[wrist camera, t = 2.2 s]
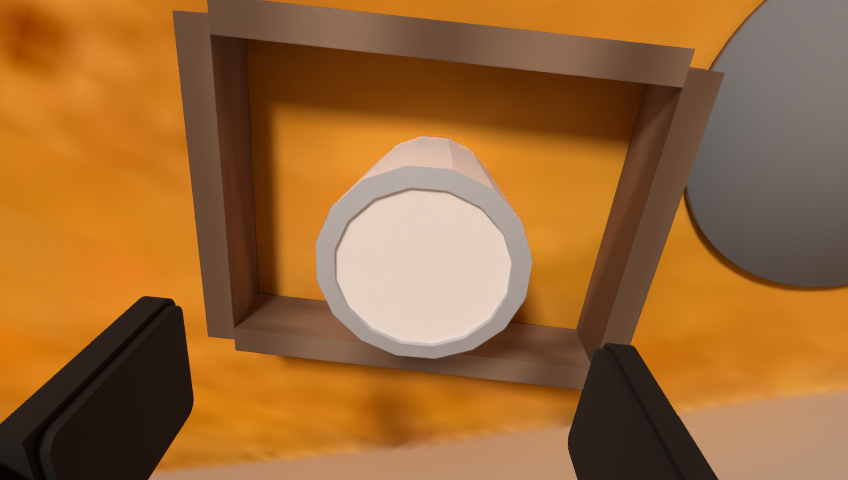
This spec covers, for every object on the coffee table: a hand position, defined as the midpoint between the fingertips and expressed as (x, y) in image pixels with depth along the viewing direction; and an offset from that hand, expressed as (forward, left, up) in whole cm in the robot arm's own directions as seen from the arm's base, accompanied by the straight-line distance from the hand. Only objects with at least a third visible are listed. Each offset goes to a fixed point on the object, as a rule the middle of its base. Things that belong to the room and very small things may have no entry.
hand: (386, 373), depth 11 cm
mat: (-18, -5, -12) cm, 22 cm away
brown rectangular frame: (-1, 0, -12) cm, 11 cm away
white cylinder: (-1, 0, -12) cm, 12 cm away
